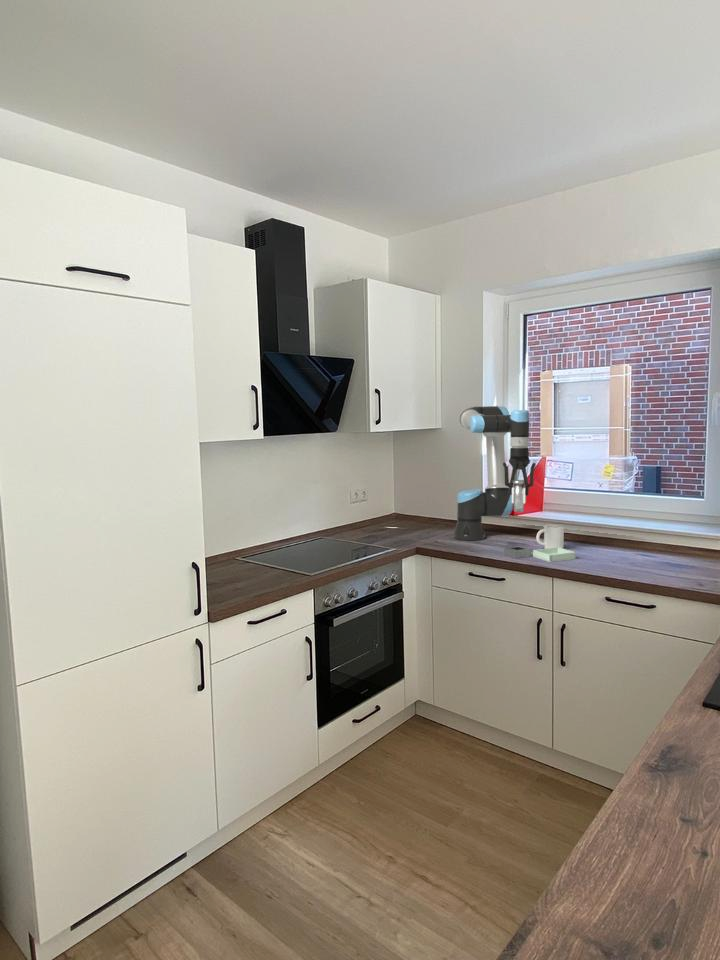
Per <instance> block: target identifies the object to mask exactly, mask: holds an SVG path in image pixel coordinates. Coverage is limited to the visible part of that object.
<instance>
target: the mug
mask: <svg viewBox="0 0 720 960" xmlns="http://www.w3.org/2000/svg"><path fill="white" fill-rule="evenodd" d="M543 527H544V528H542V529H540V530H539V531H538V532H537V533H536V537H535V538H536V539H535V540H536V542H537V543H538V544H539V545H540V546H543V549H546V548H555V547H559V548H563V549H564V537H565V536H564V534H565V529H564V528H565V526H564V525H562V524H553V523H552V524H544V526H543ZM541 534H543V542H542V541H541V540H540V536H541Z"/></svg>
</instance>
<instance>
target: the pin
mask: <svg viewBox="0 0 720 960" xmlns="http://www.w3.org/2000/svg"><path fill="white" fill-rule="evenodd" d="M512 483H513V487H514V504H513V513H524V510H525V509H524V508H525V506H524V504H523V488H524V487H525V481H524V479H514V481H512Z"/></svg>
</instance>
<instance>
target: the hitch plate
mask: <svg viewBox="0 0 720 960" xmlns="http://www.w3.org/2000/svg"><path fill="white" fill-rule="evenodd" d="M504 554H505V555H504ZM503 555H504V556H507V555H508V557H510V558H513V559H521V558H520V557H523V558H530V557H529V556H531V557H532V549H530V548H528V547H525V546H521V545H516V546H514V545H513V546H506V547H503Z"/></svg>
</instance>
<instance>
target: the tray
mask: <svg viewBox="0 0 720 960" xmlns="http://www.w3.org/2000/svg"><path fill="white" fill-rule="evenodd" d="M532 557H533V558H536V559H540V560H542V561H546V562H548V563H555V562H561V561H570V560H576V559H577V552H576V551H573V550H571V549H570V550H569V549H565V548H564V547H563V548H559V547H555V548H546V549H545V548H539V549H533V550H532Z"/></svg>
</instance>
